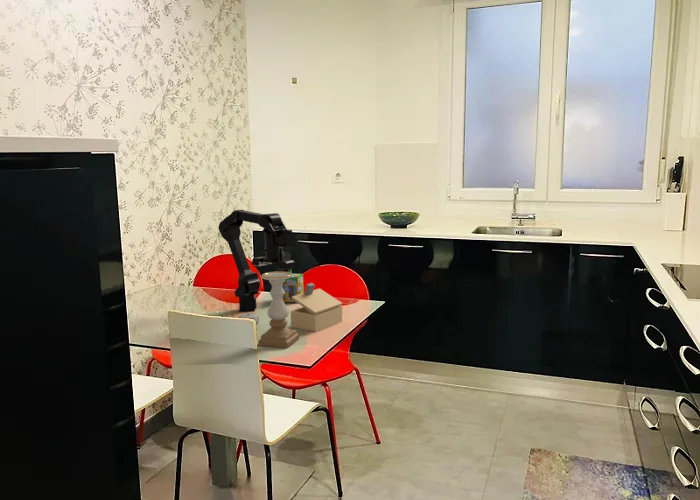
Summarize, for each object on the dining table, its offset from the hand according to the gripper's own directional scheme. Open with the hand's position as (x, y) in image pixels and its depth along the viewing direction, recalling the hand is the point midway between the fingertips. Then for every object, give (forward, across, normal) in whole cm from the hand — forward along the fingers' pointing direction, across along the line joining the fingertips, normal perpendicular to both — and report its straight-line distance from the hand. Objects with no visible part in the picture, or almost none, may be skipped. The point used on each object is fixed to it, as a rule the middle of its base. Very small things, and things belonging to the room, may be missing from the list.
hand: (273, 283), depth 228 cm
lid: (+4, -22, 0) cm, 23 cm away
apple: (+13, -6, +20) cm, 25 cm away
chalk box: (+13, +11, -22) cm, 28 cm away
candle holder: (+13, -25, +24) cm, 37 cm away
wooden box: (+13, -22, 0) cm, 26 cm away
